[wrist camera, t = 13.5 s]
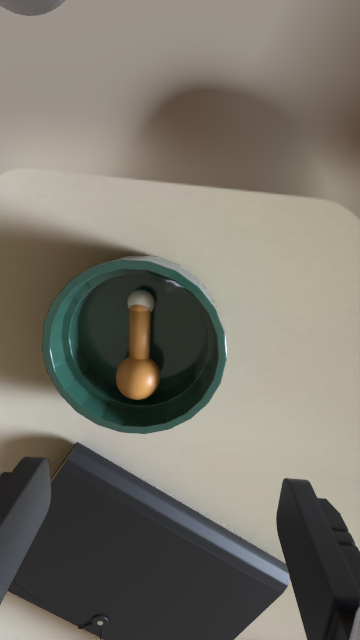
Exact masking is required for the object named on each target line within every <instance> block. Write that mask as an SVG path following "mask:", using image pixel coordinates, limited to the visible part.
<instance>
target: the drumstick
mask: <svg viewBox="0 0 360 640" xmlns="http://www.w3.org/2000/svg"><path fill="white" fill-rule="evenodd" d="M154 304H155V303H154V298H153V296H152V295H151V294H150V293H149V292H148V291H146V290H136V291H134V292H133V293H131V295H130V296H129V298H128V308H129V357H128V358H126V359H125V360H124V361H123V362H122V363H121V364H120V365H119V367H118V369H117V372H116V384H117V387H118V389H119V390H120V392H121V393H122V394H123V395H124V396H126V397H128V398H130V399H134V400H141V399H145V398H147V397H149V396H151V395H152V394H153V393H154V392H155V391H156V390H157V388H158V386H159V383H160V370H159V368H158V366H157V364H156V363H155V362H154V361H153V360H152V359H151V358H150V319H151V311H152V310H153V308H154Z"/></svg>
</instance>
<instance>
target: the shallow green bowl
mask: <svg viewBox="0 0 360 640" xmlns="http://www.w3.org/2000/svg"><path fill="white" fill-rule="evenodd" d="M136 290H146V291H148V292H149V293H150V294H151V295H152V296H153V298H154V303H155V304H154V308H153V310H152V311H151V319H150V358H151V359H152V360H153V361H154V362H155V363H156V364H157V366H158V368H159V370H160V383H159V386H158V388H157V390H156V391H155V392H154V393H153V394H152V395H151V396H149V397H147V398H145V399H141V400H134V399H130V398H128V397H126V396H124V395H123V394H122V393H121V392H120V390H119V389H118V387H117V384H116V372H117V369H118V367H119V365H120V364H121V363H122V362H123V361H124V360H125V359H126V358H128V357H129V308H128V298H129V296H130V295H131V293H133V292H134V291H136ZM42 350H43V354H44V359H45V363H46V368H47V372H48V374H49V375H50V377H51V379H52V381H53V383H54V385H55V386H56V388H57V390H58V392H59V393H60V395H61V396H62V397H63V398H64V399H65V400H66V401H67V402H68V403H69V404H70V405H71V406H72V408H73V409H74V410H75V411H77V412H78V413H79V414H81V415H83V416H84V417H86V418H87V419H89V420H91V421H92V422H94V423H96V424H98V425H100V426H103V427H106V428H109V429H112V430H116V431H119V432H125V433H140V434H147V433H152V432H158V431H163V430H168V429H171V428H173V427H175V426H177V425H179V424H181V423H183V422H185V421H187V420H189V419H191V418H192V417H193V416H194V415H195V414H197V413H198V412H199V411H200V410H201V409H202V408H203V407H204V406H206V405H207V404H208V403H209V401H210V400H211V398H212V396H213V395H214V393H215V391H216V390H217V388H218V386H219V385H220V383H221V380H222V376H223V372H224V368H225V364H226V360H227V354H226V337H225V331H224V328H223V325H222V322H221V319H220V316H219V313H218V311H217V308H216V305H215V303H214V300H213V298H212V296H211V295H210V293H209V292H208V291H207V290H206V288H205V287H204V286H203V284H202V283H201V282H200V280H199V279H198V278H197V277H195V276H194V275H192V274H191V273H190V272H188V271H187V270H185V269H184V268H183V267H181V266H180V265H178V264H176V263H173V262H170V261H167V260H164V259H162V258H159V257H155V256H137V255H130V256H126V257H122V258H118V259H114V260H110V261H107V262H104V263H101V264H98V265H96V266H93V267H91V268H90V269H88V270H86V271H85V272H83V273H81V274H80V275H78V276H76V277H75V278H73V279H72V280H71V281H69V282H68V284H67V285H66V286H65V287H64V288H63V290H62V291H61V292H60V293H59V294H58V295H57V297H56V298H55V299H54V300H53V302H52V305H51V307H50V310H49V312H48V315H47V317H46V320H45V322H44V330H43V344H42Z"/></svg>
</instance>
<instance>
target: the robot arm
mask: <svg viewBox="0 0 360 640" xmlns="http://www.w3.org/2000/svg"><path fill="white" fill-rule="evenodd" d="M50 501H51V484H50V468H49V460H48V459H47V458H36V457H24V458H22V459H21V461H20V462H19V463H18V465H17V466H16V467H15V469H14V470H13V471H12V473H11V472H4V473H2V474H1V475H0V604H1V602H2V600H3V598H4V596H5V594H6V592H7V590H8V588H9V586H10V584H11V582H12V581H13V579H14V577H15V575H16V573H17V571H18V569H19V567H20V565H21V563H22V561H23V559H24V557H25V555H26V553H27V551H28V549H29V547H30V546H31V544H32V542H33V540H34V538H35V536H36V534H37V532H38V530H39V528H40V526H41V524H42V522H43V520H44V518H45V516H46V514H47V512H48V509H49V505H50ZM276 520H277V532H278V536H279V540H280V543H281V547H282V551H283V554H284V558H285V561H286V565H287V568H288V572H289V576H290V579H291V583H292V586H293V590H294V593H295V597H296V601H297V604H298V608H299V611H300V615H301V618H302V622H303V625H304V629H305V633H306V636H307V640H360V552H359V550H358V548H357V547H356V546H355V542H354V540H353V538H352V536H351V534H350V533H349V532H348V528H347V526H346V525H345V523H344V521H343V519H342V517H341V515H340V513H339V512H338V511H337V510H336V509H335V508H334V507H333V506H332V505H331V504H330V503H329V502H328V500H327V499H321V498H317V497H316V494H315V492H314V490H313V488H312V486H311V484H310V482H309V481H308V480H301V479H289V478H285V479H284V480H283V483H282V488H281V494H280V499H279V504H278V510H277V519H276Z"/></svg>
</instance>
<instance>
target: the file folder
mask: <svg viewBox="0 0 360 640" xmlns="http://www.w3.org/2000/svg"><path fill="white" fill-rule="evenodd" d="M50 484H51V501H50V505H49V509H48V512H47V514H46V516H45V518H44V520H43V522H42V524H41V526H40V528H39V530H38V532H37V534H36V536H35V538H34V540H33V542H32V544H31V546H30V547H29V549H28V551H27V553H26V555H25V557H24V559H23V561H22V563H21V565H20V567H19V569H18V571H17V573H16V575H15V577H14V579H13V581H12V582H11V584H10V586H9V588H8V590H7V591H9V592H11V593H13V594H15V595H17V596H19V597H21V598H23V599H25V600H27V601H29V602H31V603H33V604H35V605H37V606H39V607H41V608H43V609H45V610H47V611H49V612H50V613H52V614H54V615H56V616H58V617H60V618H62V619H64V620H66V621H68V622H70V623H72V624H74V625H76V626H78V628H79V629H84V630H86V631H88V632H90V633H92V634H94V635H96V636H98V637H100V639H101V638H102V639H104V640H234V639H235V638H236V637H237V636H238V635H239V634H240V633H241V632H242V631H243V630H244V629H245V628H246V627H247V626H249V625H250V624H251V623H252V622H253V621H254V620H255V619H256V618H257V617H258V616H259V615H260V614H261V613H262V612H263V611H264V610H266V609H267V608H268V607H269V606H270V605H271V604H272V603H273V602H274V601H275V600H276V599H277V598H278V597H279V596H280V595H281V594H282V593H283V592H284V591H285V589H286V588H287V586H288V583H289V579H290V576H289V572H288V568H287V565H286V564H285V563H283V562H282V561H280V560H278V559H276V558H275V557H273V556H271V555H270V554H268V553H266V552H264V551H263V550H261V549H259V548H258V547H256V546H254V545H253V544H251V543H249V542H247V541H246V540H244V539H242V538H241V537H239V536H237V535H235V534H234V533H232V532H230V531H229V530H227V529H225V528H223V527H222V526H220V525H218V524H217V523H215V522H213V521H212V520H210V519H208V518H206V517H205V516H203V515H201V514H200V513H198V512H196V511H194V510H193V509H191V508H189V507H188V506H186V505H184V504H182V503H181V502H179V501H177V500H176V499H174V498H172V497H170V496H169V495H167V494H165V493H164V492H162V491H160V490H159V489H157V488H155V487H153V486H152V485H150V484H148V483H147V482H145V481H143V480H141V479H140V478H138V477H136V476H135V475H133V474H131V473H129V472H128V471H126V470H124V469H123V468H121V467H119V466H118V465H116V464H114V463H112V462H111V461H109V460H107V459H106V458H104V457H102V456H100V455H99V454H97V453H95V452H94V451H92V450H90V449H89V448H87V447H85V446H83V445H82V444H80V443H78V442H77V443H76V444H75V445H74V447H73V448H72V450H71V451H70V453H69V454H68V455H67V457H66V458H65V460H64V461H63V463H62V464H61V466H60V467H59V468H58V470H57V471H56V473H55V474H54V476H53V477H52V479H51V480H50Z"/></svg>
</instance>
